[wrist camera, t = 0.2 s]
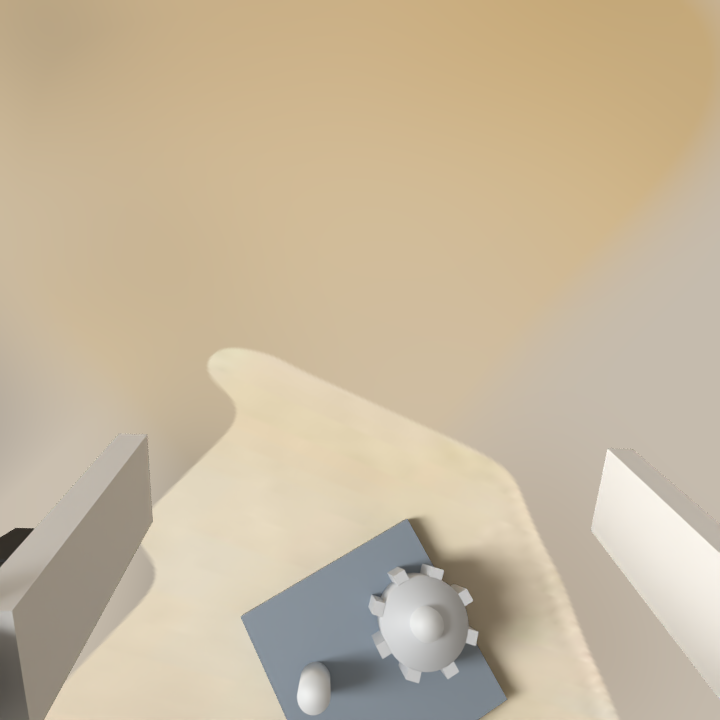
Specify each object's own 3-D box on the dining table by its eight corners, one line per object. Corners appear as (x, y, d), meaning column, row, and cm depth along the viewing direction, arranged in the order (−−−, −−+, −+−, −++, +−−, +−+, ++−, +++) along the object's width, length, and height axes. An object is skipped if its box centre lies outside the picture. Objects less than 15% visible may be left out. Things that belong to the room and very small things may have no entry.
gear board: (509, 688, 46) (540, 715, 39) (332, 810, 42) (333, 862, 36) (412, 515, 49) (425, 512, 43) (243, 614, 46) (229, 627, 40)
